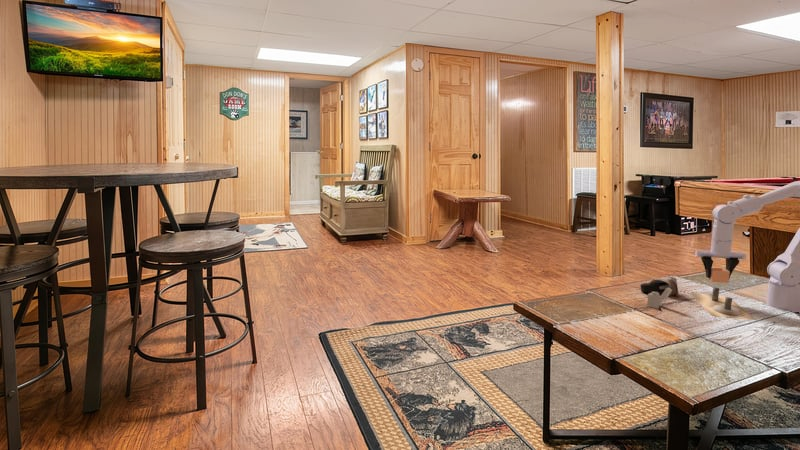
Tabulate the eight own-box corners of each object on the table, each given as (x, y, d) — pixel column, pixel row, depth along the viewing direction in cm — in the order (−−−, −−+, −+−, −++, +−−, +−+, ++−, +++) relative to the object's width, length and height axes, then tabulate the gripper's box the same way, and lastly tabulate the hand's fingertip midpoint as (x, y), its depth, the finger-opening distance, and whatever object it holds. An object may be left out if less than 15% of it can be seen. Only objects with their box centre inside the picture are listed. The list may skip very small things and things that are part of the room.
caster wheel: (638, 296, 174) (667, 293, 172) (649, 299, 162) (681, 296, 160) (636, 278, 174) (664, 275, 172) (646, 280, 162) (677, 277, 161)
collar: (722, 278, 157) (724, 267, 157) (728, 282, 153) (729, 271, 152) (706, 277, 159) (707, 266, 158) (711, 281, 154) (712, 270, 154)
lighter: (646, 305, 155) (648, 283, 154) (649, 304, 156) (651, 282, 155) (667, 312, 149) (669, 289, 148) (670, 311, 150) (672, 288, 149)
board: (726, 298, 162) (728, 283, 161) (756, 322, 139) (759, 306, 139) (688, 295, 166) (690, 281, 165) (712, 318, 143) (714, 302, 142)
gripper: (741, 238, 155) (737, 276, 157) (693, 236, 159) (690, 273, 162) (750, 242, 148) (745, 282, 151) (700, 240, 153) (696, 278, 155)
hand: (717, 278), depth 156 cm, fingers closed on collar, 5 cm apart
